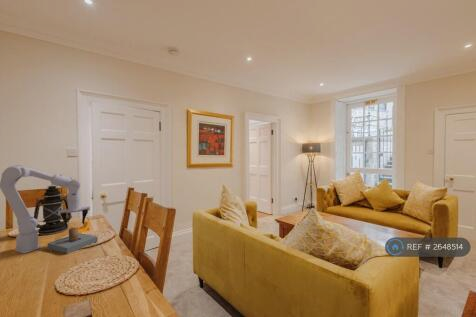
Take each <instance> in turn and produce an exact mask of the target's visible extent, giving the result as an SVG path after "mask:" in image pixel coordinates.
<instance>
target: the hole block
mask: <svg viewBox="0 0 476 317" xmlns="http://www.w3.org/2000/svg"><path fill="white" fill-rule="evenodd" d="M97 241H98V242H99V236H96V235H91V234H87V233H84V234H82V233H78V240H77V241H74V242H69V235H68V236H65V237H62V238H59V239H56V240H53V241H50V242H47V250H51V251H54V252H59V253H62V254H65V255H66V254H68V255H69V254H71V253H73V252H76V251H78V250H81V249H83V248H82V247H84V246H86V247H88V246H87V245H89V246H91V245H93V244H92V243H94V244H96V243H98V242H97ZM95 242H96V243H95ZM90 244H91V245H90ZM84 248H85V247H84Z"/></svg>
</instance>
